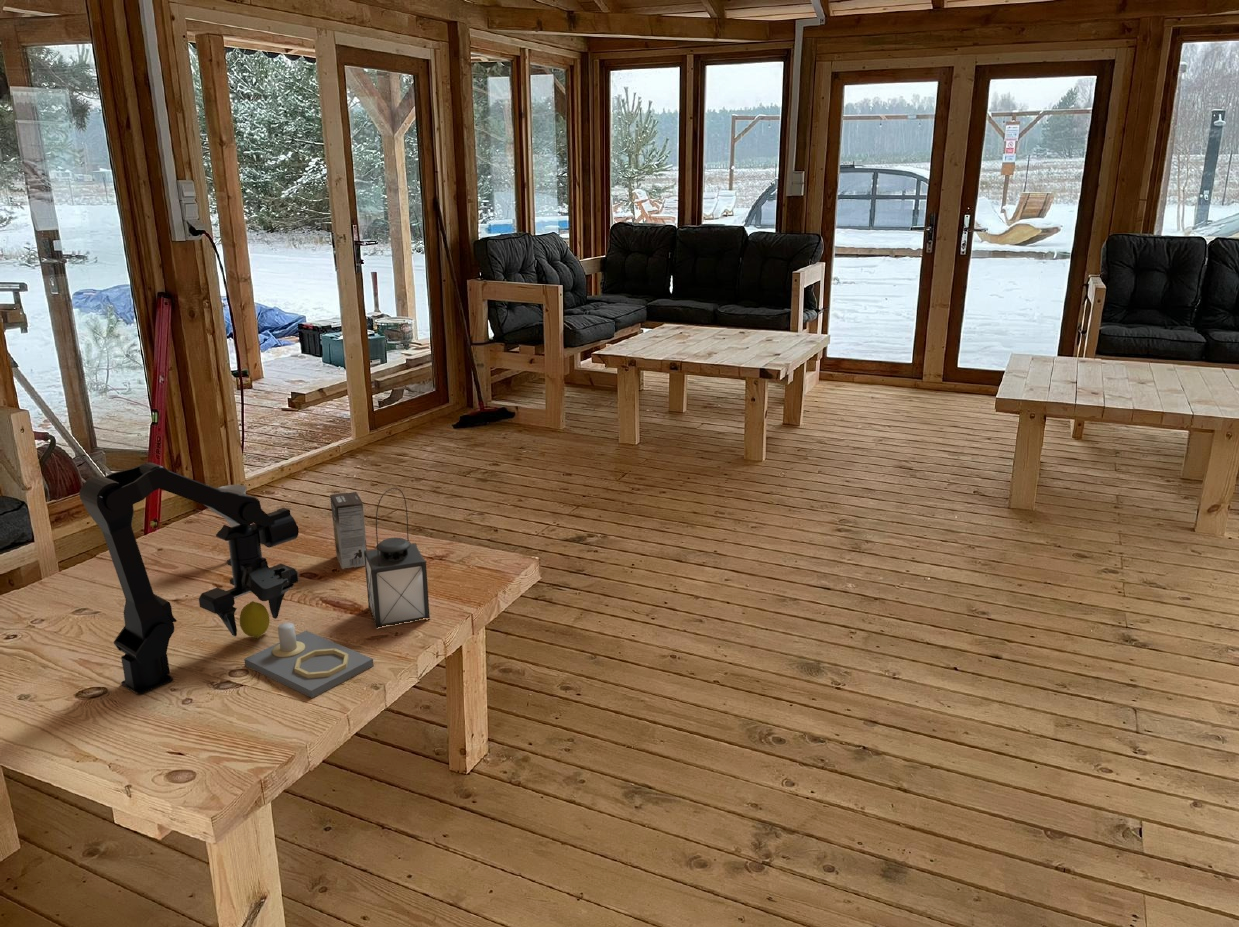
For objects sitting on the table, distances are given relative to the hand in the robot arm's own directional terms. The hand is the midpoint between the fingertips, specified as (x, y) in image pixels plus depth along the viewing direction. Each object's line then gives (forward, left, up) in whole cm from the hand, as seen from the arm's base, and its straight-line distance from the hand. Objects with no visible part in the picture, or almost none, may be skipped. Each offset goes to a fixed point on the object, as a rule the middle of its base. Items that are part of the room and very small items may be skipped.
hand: (255, 626), depth 184 cm
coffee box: (+37, +16, -3) cm, 40 cm away
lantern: (+24, -15, -3) cm, 28 cm away
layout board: (-1, -18, -2) cm, 18 cm away
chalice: (+22, +39, -3) cm, 45 cm away
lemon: (0, 0, -3) cm, 3 cm away
